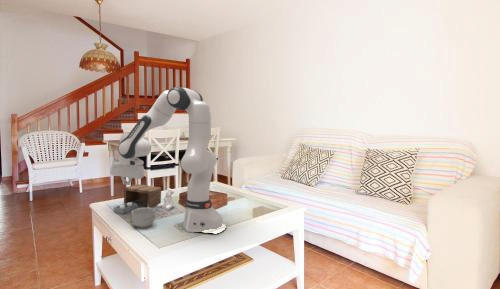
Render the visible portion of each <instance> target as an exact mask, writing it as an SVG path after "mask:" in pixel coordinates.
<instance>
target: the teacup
mask: <svg viewBox="0 0 500 289" xmlns="http://www.w3.org/2000/svg"><path fill="white" fill-rule="evenodd" d="M130 212H131V223H132V225H134V226H135V227H136V228H138V229H143V228H148V227H150V226H151V225H152V224H153V223H154V221H155V212H156V209H154V207H152V208H150V207H147V206H146V207H139V208H138V207H137V209H135V210H133V211H130Z"/></svg>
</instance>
